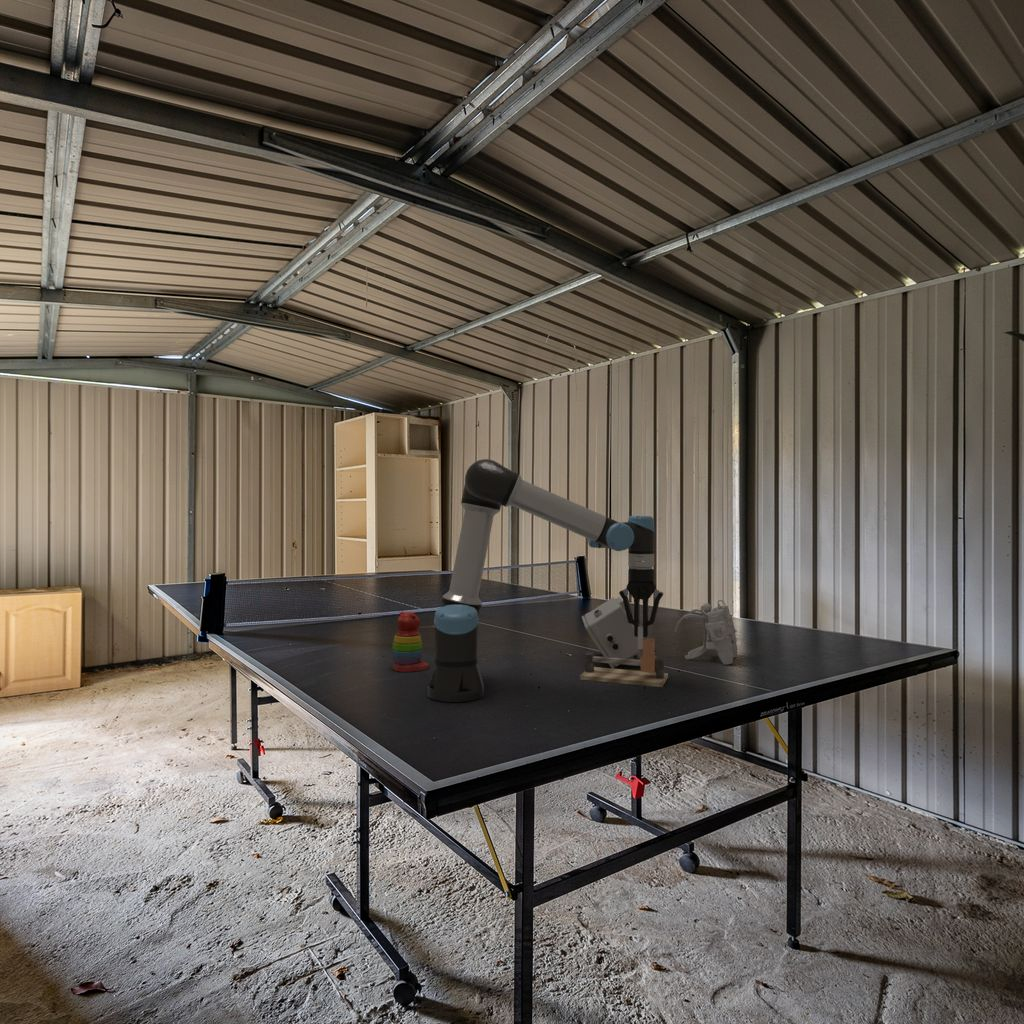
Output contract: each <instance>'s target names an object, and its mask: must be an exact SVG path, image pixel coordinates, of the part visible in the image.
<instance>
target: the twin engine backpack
mask: <svg viewBox="0 0 1024 1024" xmlns="http://www.w3.org/2000/svg"><path fill="white" fill-rule="evenodd" d="M720 602H722V603H723V605H721V604H720ZM694 612H695V613H694ZM696 612H699V613H701V615H699V614H696ZM730 612H731V611H730V608H729V606H728V605H726V603H725V602H724V600H723V599H719V600H717V607H713V608H712V605H711V604H710V603H708V602H705V603H703V604H702V605H701V606H700V609H696V608H695V609H692V610H690V611H689V612H688V613H687V614H684V615H683V616H682V617H680V619H678V621H677V624H676V626H675V629H674V630H675V631H674V632H675V633H677V630H678V626H679V625H680V624H681V622H682V621H683V620H684V619H685V620H688V618H693V619H697V620H699V621H700V622H701V623H702V627H703V645H702V646H698V647H696V648H693V649H691V650H689V651H688V652H687V654H685V655H684V659H685V660H691V659H695V658H698V657H700V656H702V655H703V654H704V653H705V652H708V650H715V651H717V654H718V658H719V660H720V662H721V663H722V664H723V665H731V664H733V663H734V658H736V657H738V645H737V642H738V639H737V635H736V633H737V632H738V631H737V630H736V628H735V623H734V620H733V614H731V613H730Z"/></svg>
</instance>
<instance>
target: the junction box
mask: <svg viewBox="0 0 1024 1024" xmlns="http://www.w3.org/2000/svg"><path fill="white" fill-rule="evenodd" d="M581 619H582V623H583V625H584V627H585V628H584V629H585V630H586V631H587V632H588V635H589V637H590V638H591V640H592V641H593V642H594V643H595V645H596V647H597V648H598V650H599V652H601V654H602V657H609V658H621V659H634V660H641V656H642V655H643V652H641V651H643V649H638V637H635V635H634V625H633V624H631V623H628V620H627V616H626V611H625V607H624V603H623V599H622V597H621V596H618V597H616V598H615V597H612V598H610V599H608V600H607V601H605V602H603V603H602V604H600V605H599V606H597V607H596V608H594V609H592V610H591V611H589V612H586V613H585V614H584V615H581ZM633 619H634V616H633ZM634 656H636V657H634ZM607 664H608V665H609V666H610V668H611V669H616V667H618V666H620V665H621V664H612V663H607Z"/></svg>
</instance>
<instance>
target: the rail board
mask: <svg viewBox="0 0 1024 1024" xmlns="http://www.w3.org/2000/svg"><path fill="white" fill-rule="evenodd" d="M584 657H585V659H584V660H585V661H584V663H585V664H584V668H585V669H584V671H583V672H582V673H581V674H580V675H579V681H580V680H582V681H592V682H603V683H613V684H623V685H624V684H625V685H635V686H643V687H644V686H645V687H655V688H656V687H657V688H663V687H664V685H665V684H666V681H667V679H668V678H669V673H668V672H665V658H663V657H661V658H660V657H657V659H656V661H655V667H656V671H655V673H649V672H641V670H633V669H621V668H613V669H612V668H611V667H610V668H608V667H601V666H600V667H597V666H595V663H599V664H600V663H601V664H602V663H603V664H608V663H612V664H620V665H627V666H639V667H641V660H634V659H621V658H609V657H604V656H595V653H594V652H586V653H585V654H584Z"/></svg>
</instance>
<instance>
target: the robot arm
mask: <svg viewBox="0 0 1024 1024" xmlns="http://www.w3.org/2000/svg"><path fill="white" fill-rule="evenodd" d="M460 502H461V503H460V504H461V506H462V508H463V509H464V513H463V518H462V524H461V528H460V534H459V538H458V544H457V549H456V554H455V559H454V565H453V570H452V575H451V580H450V585H449V588H448V589H449V590H448V592H446V593H445V594H443V595H442V599H441V603H440V607H438V608H437V609H436V611H435V613H434V619H433V625H434V666H433V671H432V673H431V677H430V680H429V683H428V685H427V697H428V698H429V699H432V700H434V701H438V702H443V703H444V702H446V703H463V702H464V703H465V702H471V701H475V700H478V699H481V698H482V697H484V696H485V685H484V681H483V678H482V676H481V675H482V674H481V672H480V669H479V665H478V664H479V660H478V659H479V655H478V654H479V649H478V647H479V640H478V639H479V634H478V633H479V620H480V616H481V610H482V607H483V606H482V605H483V602H482V600H481V599H480V598H479V593H480V589H481V583H482V579H483V578H482V577H483V573H484V568H485V563H486V562H485V561H486V557H487V552H488V547H489V542H490V538H491V533H492V532H491V531H492V526H493V522H494V517H495V515H497V514H498V513H499V512H500V511H501V508H502V506H503V507H505V508H508V507H510V506H512V507H515V508H516V509H519V510H522V511H524V512H525V513H528V514H531V515H533V516H536V517H537V518H540V519H541V520H544V521H547V522H549V523H552V524H554V525H556V526H558V527H561V528H563V529H566V530H568V531H570V532H572V533H574V534H577V535H579V536H582V537H583V538H587V543H588V546H589V547H590V548H592V549H593V548H594V549H595V548H596V549H597V548H598V549H609V550H613V551H616V552H622V551H626V550H628V553H627V555H628V557H627V558H628V559H627V560H628V563H627V564H628V567H629V569H628V570H627V571H628V579H627V580H628V581H627V584H626V587H625V588H624V589H622V590H620V591H619V592H618V594H619V595H620V596H619V597H620V598H621V599H622V600H623V603H624V607H625V611H626V616H627V620H628V623H631V624H633V625H634V635H635V637H638V649H642V650H643V639H644V638H648V635H649V626H652V625H654V624H655V621H656V617H657V613H658V609H659V604H660V601H661V599H662V598H663V596H664V592H663V591H660V590H659V589H657V586H656V584H655V569H654V567H655V533H656V530H655V520H654V518H653V516H651V515H629V517H628V519H627V521H623V522H621V521H620V522H619V521H617V520H615V519H612V518H610V517H608V516H606V515H603V514H601V513H599V512H596V511H594V510H591V508H588V507H585V506H582V505H580V504H578V503H576V502H573V501H571V500H569V499H567V498H565V497H562V496H560V495H558V494H556V493H553V492H551V491H548V490H547V489H544V488H542V487H539V486H537V485H535V484H533V483H530V482H528V481H526V480H523V478H522V476H521V474H520V473H517V472H515V471H513V470H511V469H509V468H508V467H505V466H504V465H502V464H501V463H499V462H497V461H496V460H492V459H487V458H484V459H483V458H482V459H479V460H477V461H475V462H473V463H472V464H471V465H470V466H469V467H468V469H467V471H466V473H465V477H464V485H463V490H462V497H461V500H460ZM629 594H630V596H631V597H632V598H633V612H632V608H631V604H630V599H629V597H628V595H629ZM653 594H654V596H653V597H654V602H653V605H652V610H651V613H650V616H649V600H650V598H651V597H652V595H653ZM640 601H642V624H641V622H640V612H641V611H640V609H641V608H640V605H641V603H640ZM633 617H634V619H633Z"/></svg>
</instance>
